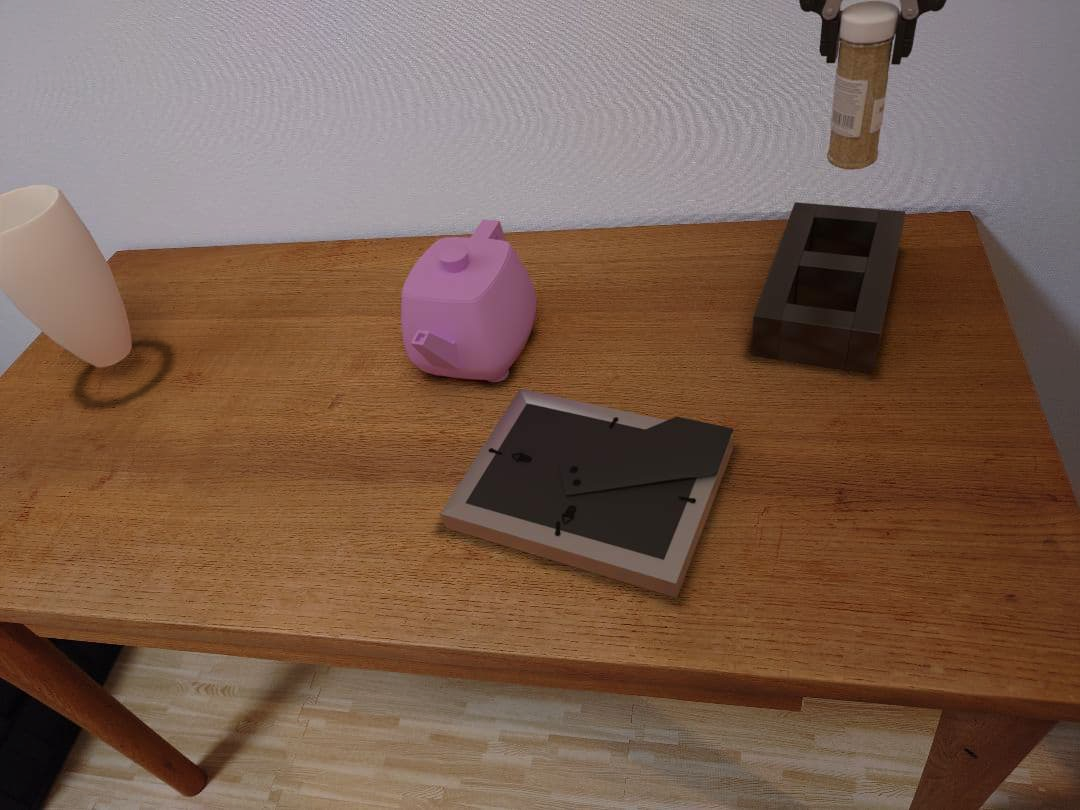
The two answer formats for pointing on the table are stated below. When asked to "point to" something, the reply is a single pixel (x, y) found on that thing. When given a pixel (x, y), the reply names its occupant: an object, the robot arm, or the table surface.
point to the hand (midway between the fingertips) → (864, 59)
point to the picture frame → (594, 488)
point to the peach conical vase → (60, 275)
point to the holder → (829, 287)
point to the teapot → (468, 306)
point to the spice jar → (861, 82)
